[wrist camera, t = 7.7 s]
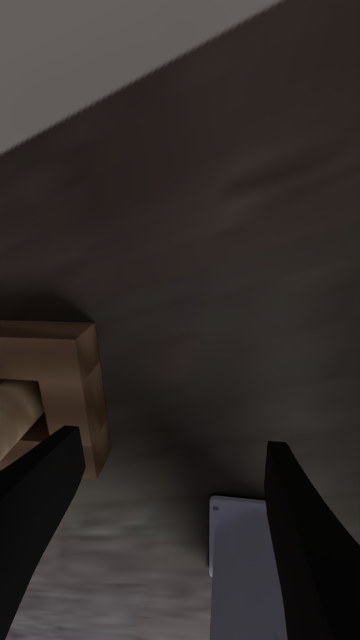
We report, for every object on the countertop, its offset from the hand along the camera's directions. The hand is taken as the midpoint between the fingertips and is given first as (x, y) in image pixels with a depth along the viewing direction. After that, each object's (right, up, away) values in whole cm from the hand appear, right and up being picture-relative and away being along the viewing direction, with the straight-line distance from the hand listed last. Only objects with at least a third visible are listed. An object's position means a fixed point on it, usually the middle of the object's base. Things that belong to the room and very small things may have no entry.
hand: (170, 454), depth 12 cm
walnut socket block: (-11, 0, +12) cm, 16 cm away
